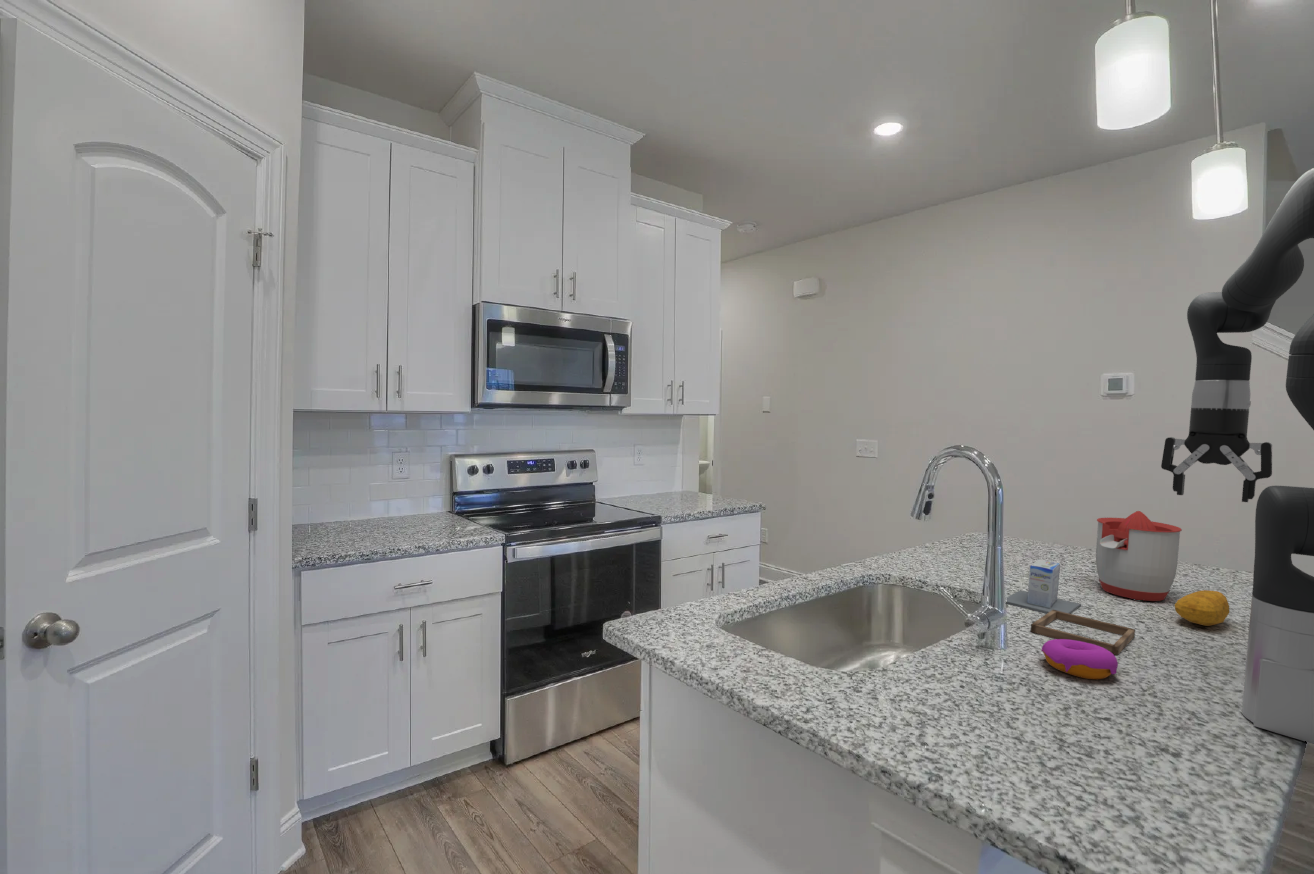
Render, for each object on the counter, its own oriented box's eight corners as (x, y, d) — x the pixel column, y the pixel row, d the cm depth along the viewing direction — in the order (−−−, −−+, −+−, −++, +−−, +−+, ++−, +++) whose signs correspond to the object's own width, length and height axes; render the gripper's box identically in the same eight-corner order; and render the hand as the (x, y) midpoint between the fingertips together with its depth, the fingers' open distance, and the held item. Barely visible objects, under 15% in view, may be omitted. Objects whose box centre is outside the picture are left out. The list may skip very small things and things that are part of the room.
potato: (1237, 623, 124) (1240, 591, 124) (1214, 636, 117) (1218, 602, 117) (1189, 612, 131) (1191, 581, 131) (1165, 623, 124) (1167, 590, 123)
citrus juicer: (1070, 587, 147) (1076, 506, 146) (1122, 582, 152) (1128, 504, 151) (1138, 608, 132) (1145, 518, 131) (1193, 602, 138) (1200, 516, 136)
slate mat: (1064, 617, 125) (1064, 615, 125) (1001, 602, 134) (1001, 600, 134) (1080, 606, 133) (1080, 603, 133) (1020, 592, 142) (1020, 590, 142)
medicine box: (1034, 595, 138) (1037, 558, 137) (1057, 600, 135) (1060, 562, 134) (1026, 603, 132) (1029, 564, 131) (1050, 609, 129) (1053, 569, 128)
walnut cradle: (1117, 655, 106) (1117, 647, 106) (1030, 631, 116) (1031, 624, 116) (1134, 637, 115) (1135, 629, 115) (1052, 616, 125) (1053, 609, 125)
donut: (1114, 668, 101) (1116, 642, 101) (1119, 691, 93) (1121, 662, 93) (1041, 652, 107) (1043, 627, 107) (1039, 673, 99) (1041, 646, 98)
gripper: (1163, 405, 109) (1156, 494, 110) (1276, 407, 98) (1267, 506, 99) (1170, 406, 114) (1164, 491, 115) (1278, 408, 103) (1270, 502, 104)
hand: (1211, 498), depth 107 cm, fingers open, 8 cm apart
